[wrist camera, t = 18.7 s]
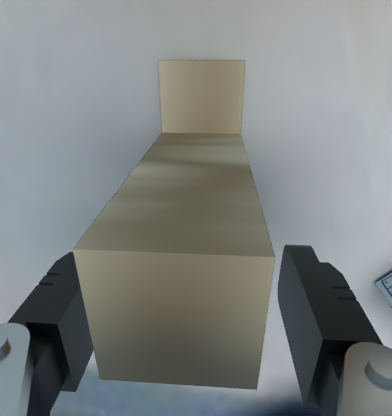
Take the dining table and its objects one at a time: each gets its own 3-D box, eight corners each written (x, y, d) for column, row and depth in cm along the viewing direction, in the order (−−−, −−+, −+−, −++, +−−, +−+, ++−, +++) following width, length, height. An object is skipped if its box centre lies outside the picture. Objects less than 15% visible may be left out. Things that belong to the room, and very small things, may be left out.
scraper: (176, 221, 17) (114, 450, 7) (170, 59, 13) (33, 65, 3) (230, 222, 17) (247, 460, 7) (239, 60, 13) (301, 66, 3)
